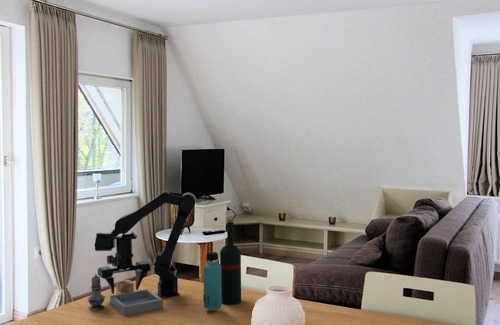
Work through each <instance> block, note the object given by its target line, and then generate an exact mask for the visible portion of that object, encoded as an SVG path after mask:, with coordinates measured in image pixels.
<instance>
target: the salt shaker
mask: <svg viewBox="0 0 500 325" xmlns="http://www.w3.org/2000/svg"><path fill="white" fill-rule="evenodd" d="M102 287H103V286H102V285H101V277H100V276H99V275H98V273H95V274H94V276H92V278H91V286H90V289H91V294H90V296H88V297H87V301H88V303H89V305H90V306H89V307H88V310H90V311H101V310H103V309H105V306H104V305H103V303H104V301H105V298H106V296H105V295H103V294H102V292H101V290H102V289H101V288H102Z"/></svg>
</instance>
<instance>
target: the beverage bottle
mask: <svg viewBox="0 0 500 325" xmlns="http://www.w3.org/2000/svg"><path fill="white" fill-rule="evenodd" d="M205 260H206V261H207V262H206V263H205V264H204V265H203V266H202V267H203V268H202V269H203V275H202V276H203V277H202V279H203V282H202V284H203V295H202V300H203V308H204V309H205V310H206V309H207V310H219V309H221V308H222V306H223V304H222V284H221V267H222V266H221V265H220V262H219V261H218V260H219V254H218V252H215V251H213V252H207V253H206V257H205Z"/></svg>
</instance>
